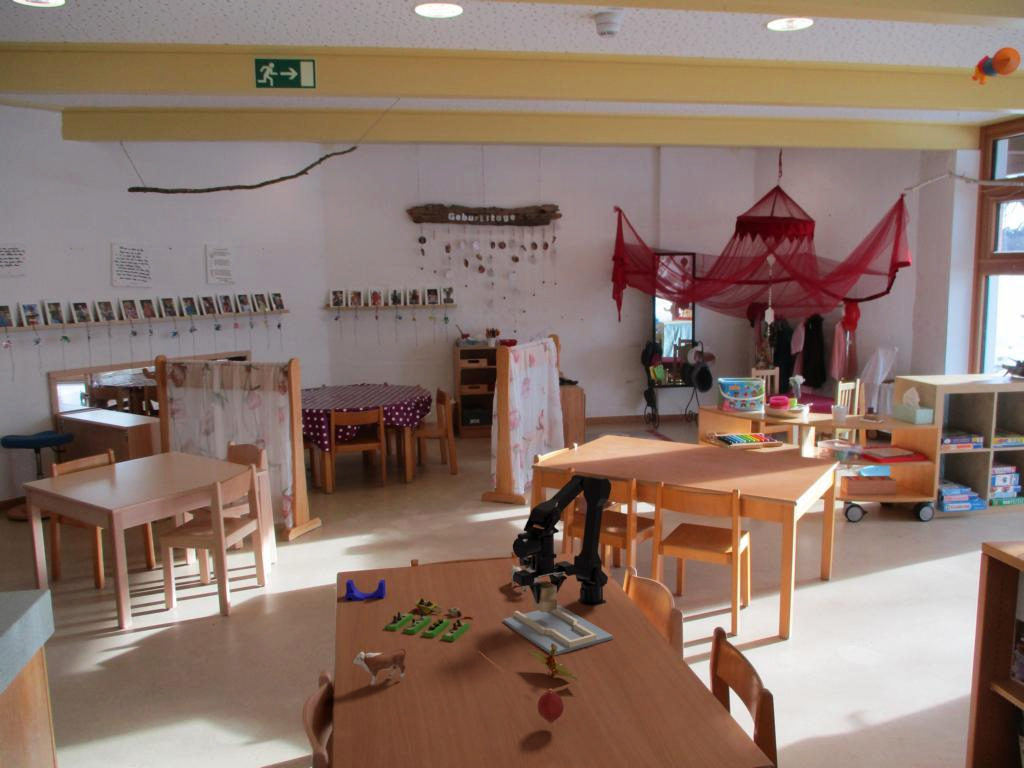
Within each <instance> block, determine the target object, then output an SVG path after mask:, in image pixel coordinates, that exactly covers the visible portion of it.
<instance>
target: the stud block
mask: <svg viewBox="0 0 1024 768" xmlns="http://www.w3.org/2000/svg"><path fill="white" fill-rule="evenodd" d="M538 582H539V581H538ZM539 583H540V584H541V589H540V601H539V604H537V603H536V602H535V599H534V596H533V595H532V597H533V608H534V609H536V611H538V610H539V611H541V612H542V613H544V612H548V611H552V610H556V609H557V606H558V593H557V586H556V585H554V584H552V583H551V581H548V580H542V581H540V582H539Z"/></svg>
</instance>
